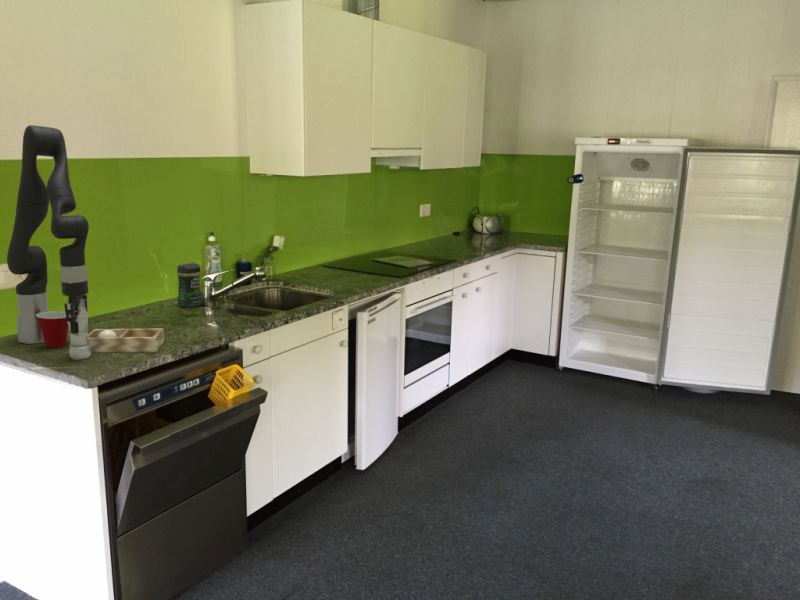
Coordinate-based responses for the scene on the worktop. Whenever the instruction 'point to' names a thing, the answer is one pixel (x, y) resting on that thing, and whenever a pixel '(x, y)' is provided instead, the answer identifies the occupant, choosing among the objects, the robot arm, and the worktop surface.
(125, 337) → the crate
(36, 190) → the robot arm
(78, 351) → the plastic bottle
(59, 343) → the plastic cup
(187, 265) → the coffee jar
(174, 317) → the worktop surface
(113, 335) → the white ball
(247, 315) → the worktop surface
